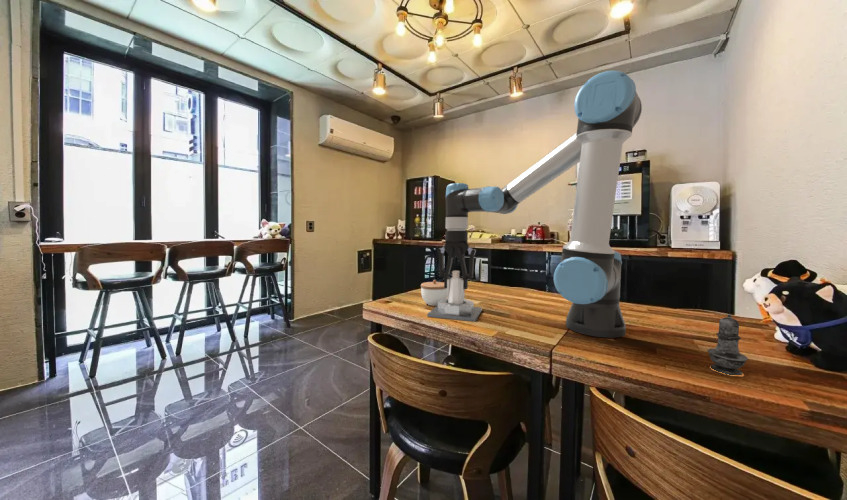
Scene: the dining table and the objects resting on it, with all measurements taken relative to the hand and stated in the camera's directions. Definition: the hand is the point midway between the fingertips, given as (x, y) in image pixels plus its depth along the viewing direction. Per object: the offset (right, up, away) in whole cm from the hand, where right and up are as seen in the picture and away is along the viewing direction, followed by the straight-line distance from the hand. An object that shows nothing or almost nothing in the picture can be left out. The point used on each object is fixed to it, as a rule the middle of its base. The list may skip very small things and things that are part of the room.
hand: (455, 297), depth 105 cm
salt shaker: (0, -2, 0) cm, 2 cm away
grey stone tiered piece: (+51, -9, -42) cm, 67 cm away
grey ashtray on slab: (0, -5, 0) cm, 5 cm away
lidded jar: (-7, -5, +14) cm, 17 cm away
